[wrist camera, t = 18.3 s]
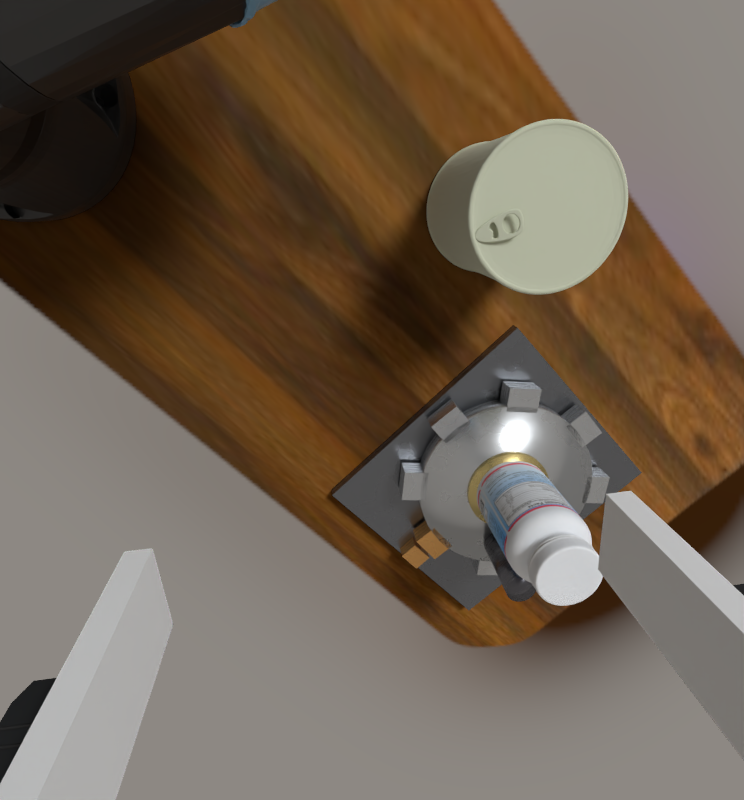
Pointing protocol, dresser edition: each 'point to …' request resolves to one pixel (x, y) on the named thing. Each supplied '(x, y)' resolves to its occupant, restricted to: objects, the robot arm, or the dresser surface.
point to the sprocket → (486, 448)
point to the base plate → (380, 472)
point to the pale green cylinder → (531, 206)
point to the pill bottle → (539, 532)
